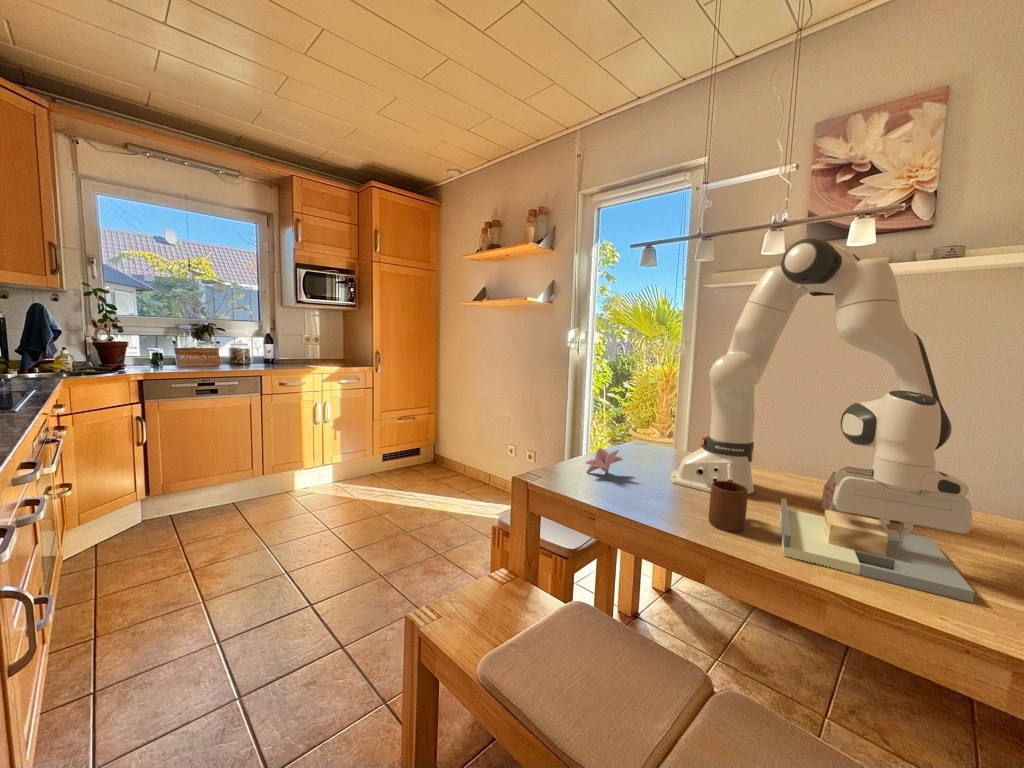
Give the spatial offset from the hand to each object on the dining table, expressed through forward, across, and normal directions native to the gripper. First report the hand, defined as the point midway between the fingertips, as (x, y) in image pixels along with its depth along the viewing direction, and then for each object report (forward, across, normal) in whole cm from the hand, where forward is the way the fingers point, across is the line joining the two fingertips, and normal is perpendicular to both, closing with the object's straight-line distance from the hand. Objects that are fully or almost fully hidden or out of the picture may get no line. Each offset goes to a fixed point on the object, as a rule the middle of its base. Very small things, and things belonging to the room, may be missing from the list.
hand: (892, 541), depth 84 cm
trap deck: (+4, -5, 0) cm, 6 cm away
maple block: (+2, -6, 0) cm, 6 cm away
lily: (+4, -64, +15) cm, 66 cm away
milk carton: (+4, -6, +21) cm, 22 cm away
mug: (+4, -30, 0) cm, 30 cm away
